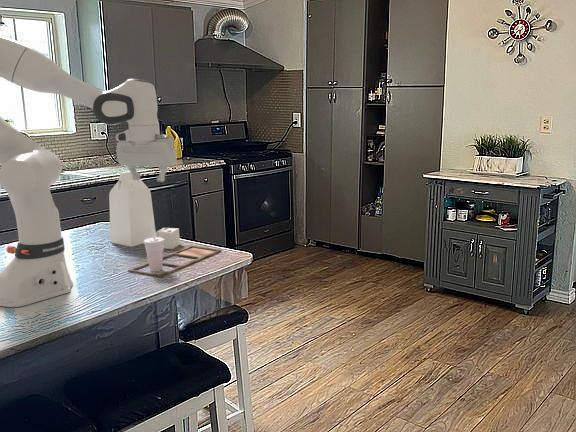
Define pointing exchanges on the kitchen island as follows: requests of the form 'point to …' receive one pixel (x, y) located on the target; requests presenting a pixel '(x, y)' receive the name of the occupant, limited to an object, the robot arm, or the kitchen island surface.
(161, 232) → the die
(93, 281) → the kitchen island surface
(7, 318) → the kitchen island surface
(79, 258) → the kitchen island surface
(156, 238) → the smoothie
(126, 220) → the milk
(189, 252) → the board
